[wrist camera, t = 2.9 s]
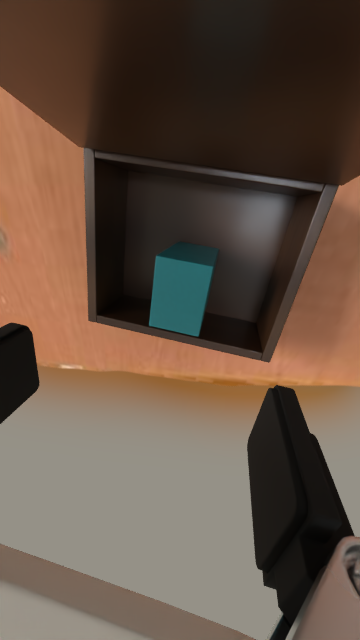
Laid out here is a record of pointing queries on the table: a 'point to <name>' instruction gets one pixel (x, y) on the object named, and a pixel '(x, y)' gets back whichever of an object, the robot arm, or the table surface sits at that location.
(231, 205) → the chest
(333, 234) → the table surface
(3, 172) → the table surface
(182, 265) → the block
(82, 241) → the table surface
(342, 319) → the table surface
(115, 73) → the lid
